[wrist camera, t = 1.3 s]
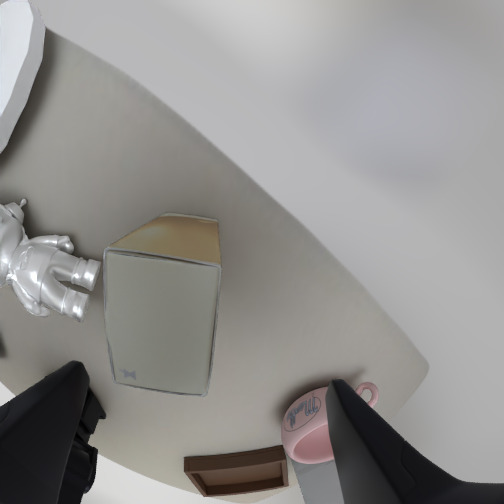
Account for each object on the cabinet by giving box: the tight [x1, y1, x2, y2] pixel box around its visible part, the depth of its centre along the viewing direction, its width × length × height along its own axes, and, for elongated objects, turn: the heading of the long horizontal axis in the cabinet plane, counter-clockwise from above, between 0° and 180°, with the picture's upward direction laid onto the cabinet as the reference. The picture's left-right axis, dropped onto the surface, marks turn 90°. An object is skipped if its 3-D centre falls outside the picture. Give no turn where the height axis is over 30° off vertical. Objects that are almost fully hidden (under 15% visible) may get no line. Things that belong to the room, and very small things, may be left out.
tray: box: [184, 445, 289, 497], centre depth 29 cm, size 13×10×3 cm
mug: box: [281, 382, 379, 464], centre depth 25 cm, size 12×10×6 cm
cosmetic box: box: [103, 212, 222, 396], centre depth 15 cm, size 6×4×12 cm
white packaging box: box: [291, 459, 344, 504], centre depth 25 cm, size 7×7×13 cm
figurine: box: [0, 199, 101, 323], centre depth 16 cm, size 11×7×15 cm
